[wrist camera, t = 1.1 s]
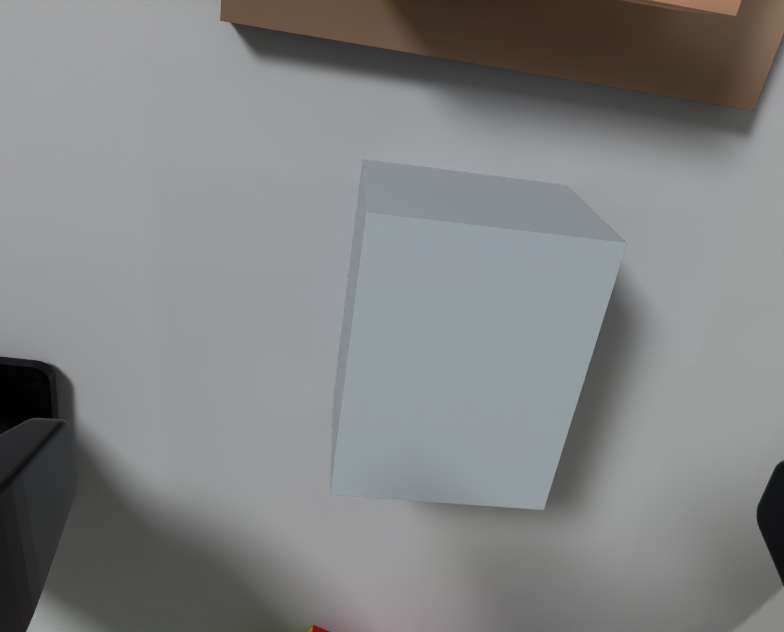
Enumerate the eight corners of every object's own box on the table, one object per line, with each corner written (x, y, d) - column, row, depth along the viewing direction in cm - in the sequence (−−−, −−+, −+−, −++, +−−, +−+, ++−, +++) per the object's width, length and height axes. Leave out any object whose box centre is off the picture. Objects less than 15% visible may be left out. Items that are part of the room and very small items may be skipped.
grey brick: (506, 408, 23) (543, 510, 19) (334, 393, 23) (329, 494, 18) (564, 183, 20) (627, 242, 15) (362, 157, 19) (366, 212, 15)
